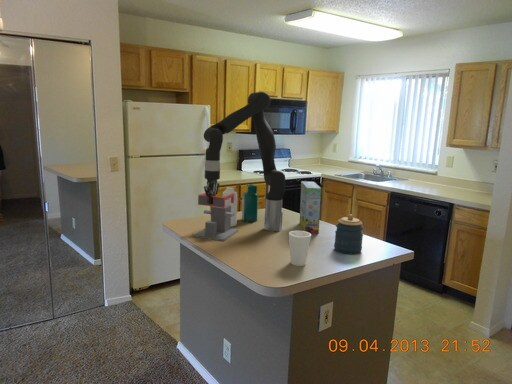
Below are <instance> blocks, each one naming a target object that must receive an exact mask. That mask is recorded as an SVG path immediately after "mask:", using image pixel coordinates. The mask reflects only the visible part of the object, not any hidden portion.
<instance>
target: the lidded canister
mask: <svg viewBox="0 0 512 384" xmlns="http://www.w3.org/2000/svg"><path fill="white" fill-rule="evenodd" d="M337 222H338V223H336V224H335V227H336V230H335V235H334V244H333V245H334V246H333V247H334V250H335V251H336V252H338V253H340V254H345V255H358V254H361V253H362V250H363V246H362V245H363V238H364V237H363V236H364V234H363V230H364V229H365V227H364V226H363V221H361V220H360V219H359V218H356V217H354V215H353V214H348V215H347V216H345V217H344V216H343V217H341V218H339V219H338V220H337Z"/></svg>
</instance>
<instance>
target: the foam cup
mask: <svg viewBox="0 0 512 384" xmlns="http://www.w3.org/2000/svg"><path fill="white" fill-rule="evenodd" d="M288 241H289V256H290V257H289V258H290V264H292V265H293V266H297V267H299V266H300V267H302V266H306V263H307V259H308V258H307V257H308V254H309V247H310V243H311V241H312V234H310V233H309V232H305V231H303V230H291V231H288Z"/></svg>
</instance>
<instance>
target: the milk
mask: <svg viewBox="0 0 512 384" xmlns="http://www.w3.org/2000/svg"><path fill="white" fill-rule="evenodd" d="M232 193H234V203H231V198H229V199H227V200H225V205H231V213H234V216H233V217H231V227H234V226H237V219H238V217H237V216H238V192H236V191H235V187H232V186H226V189H225V190H224V191H223V192H222V197H224V196H227V195H229V194H232Z"/></svg>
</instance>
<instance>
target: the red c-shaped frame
mask: <svg viewBox="0 0 512 384" xmlns="http://www.w3.org/2000/svg"><path fill="white" fill-rule="evenodd" d="M208 198H209V197H208V196H206V193H205V192H203V193H201V194H198V199H197V202H198V203H197V205H199V206H207V207H212V206H213V207H221V208H225V200H227V199H229V198H231V203H234V193H232V194H229V195H227V196H224V197H223V196H213V204H212V205H211V204H208Z"/></svg>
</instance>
